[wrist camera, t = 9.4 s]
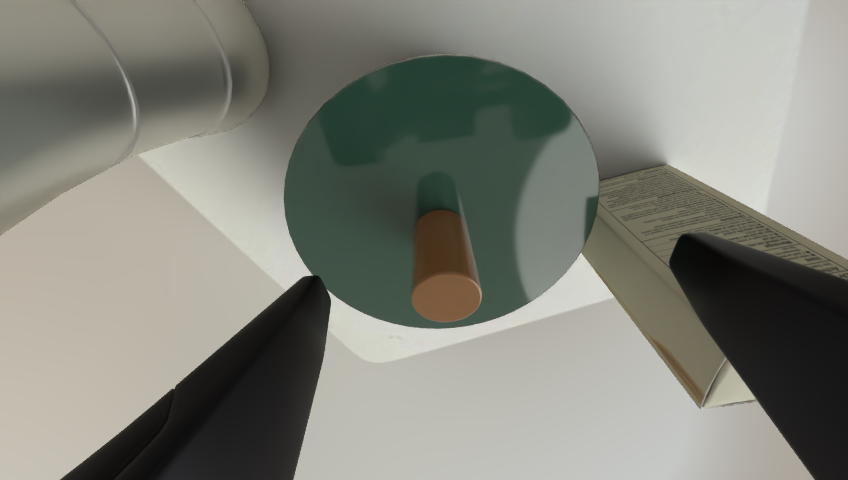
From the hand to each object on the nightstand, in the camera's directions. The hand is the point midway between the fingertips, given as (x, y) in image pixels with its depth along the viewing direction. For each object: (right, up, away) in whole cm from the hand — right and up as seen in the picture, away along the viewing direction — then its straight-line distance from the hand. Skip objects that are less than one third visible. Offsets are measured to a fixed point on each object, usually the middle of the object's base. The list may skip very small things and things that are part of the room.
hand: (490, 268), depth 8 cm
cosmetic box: (+11, +3, +13) cm, 17 cm away
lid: (-1, +1, +6) cm, 6 cm away
